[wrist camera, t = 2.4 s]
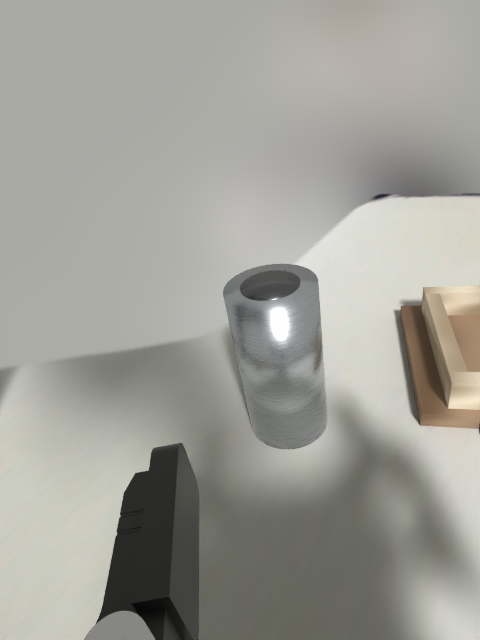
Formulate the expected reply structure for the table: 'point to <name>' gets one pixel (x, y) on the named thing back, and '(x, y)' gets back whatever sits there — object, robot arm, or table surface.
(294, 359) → the steel tube
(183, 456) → the robot arm
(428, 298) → the wooden tray
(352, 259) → the table surface
